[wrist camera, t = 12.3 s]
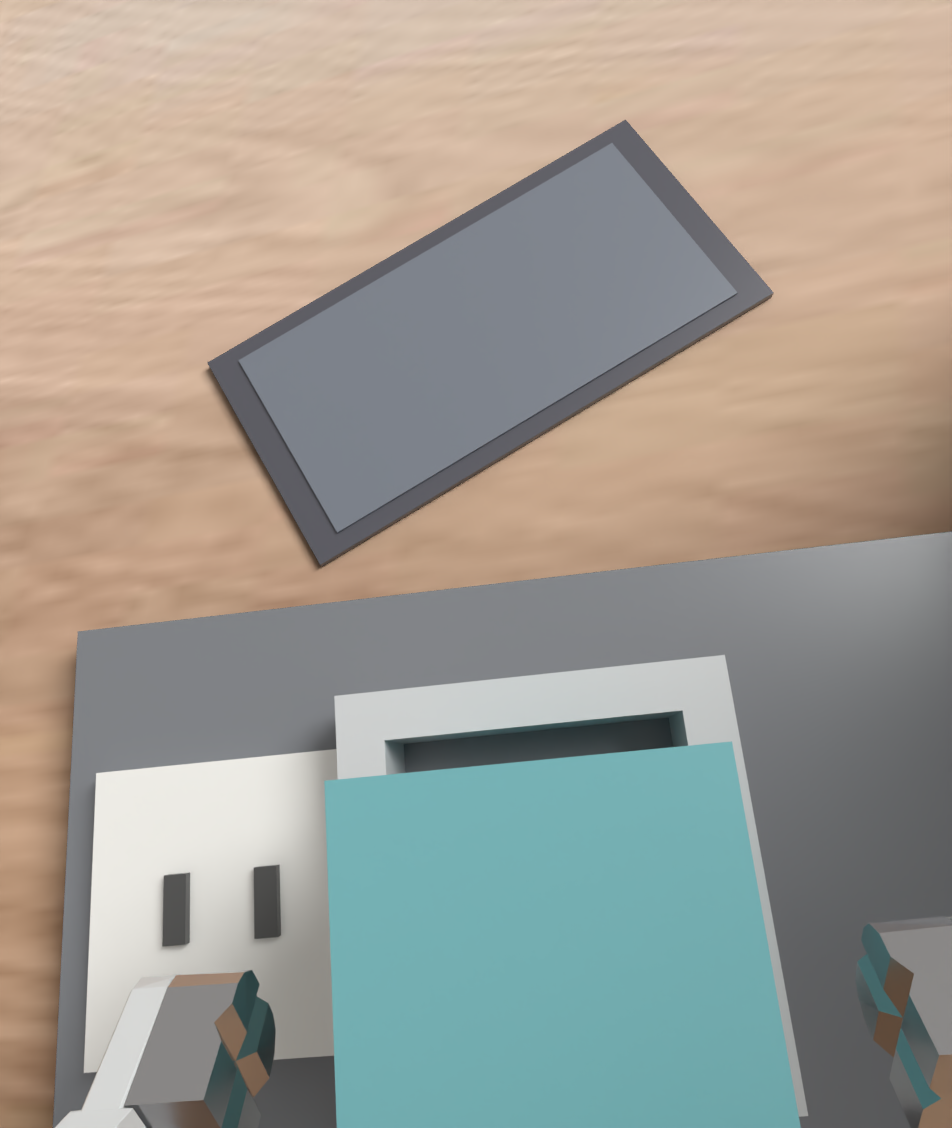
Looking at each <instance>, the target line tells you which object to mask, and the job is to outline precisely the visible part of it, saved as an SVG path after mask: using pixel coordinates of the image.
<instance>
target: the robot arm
mask: <svg viewBox="0 0 952 1128" xmlns="http://www.w3.org/2000/svg"><path fill="white" fill-rule="evenodd" d="M861 941H862V943H863V946H864V948H865V950H866V952H867V954H866V955H865V956H863V957H862V958H861V959H860V960H859V961H857V968H856V977H855V979H856V986H857V993H858V1000H859V1003H860V1006H861V1009H862V1013H863V1016H864V1019H865V1021H866V1024H867V1026H868V1029H869V1031H870V1034H871V1036H872V1038H873V1040H874V1041H875V1042H876V1043H877V1044H878V1045H880V1046H881V1047H882V1048H883V1049H884V1050H885V1051H886V1052H888V1053H889V1054H890V1055H891V1056H892V1057H893V1058H894V1059H893V1064H892V1068H891V1073H890V1077H889V1079H890V1081H891V1083H892V1085H893V1088H894V1090H895V1092H896V1095H897V1097H898V1099H899V1102H900V1104H901V1106H902V1109H903V1111H904V1113H905V1115H906V1118H907V1120H908V1122H909V1125H910V1127H911V1128H952V917H946V916H941V917H931V918H920V919H909V920H899V921H888V922H877V923H868V924H867V925H866V926H865V927H864V928H863V933H862V938H861ZM258 988H259V982H258V980H257V978H256V976H255V974H254V973H253V971H252V970H242V971H228V972H214V973H200V974H186V975H182V974H175V975H163V976H151V977H141V979H140V980H139V981H138V982H137V984H136V985H135V986H134V988H133V989H132V990H131V992H130V994H129V996H128V999H127V1001H126V1004H125V1006H124V1008H123V1011H122V1013H121V1016H120V1018H119V1020H118V1023H117V1025H116V1028H115V1030H114V1032H113V1035H112V1037H111V1040H110V1042H109V1044H108V1047H107V1049H106V1052H105V1054H104V1056H103V1059H102V1061H101V1064H100V1066H99V1068H98V1071H97V1073H96V1076H95V1078H94V1080H93V1083H92V1085H91V1088H90V1090H89V1092H88V1095H87V1097H86V1100H85V1102H84V1104H83V1107H82V1109H81V1110H77V1111H70V1112H69V1113H68V1114H67V1115H66V1116H65V1117H64V1118H63V1119H62V1120H61V1121H60V1123H59V1124H58V1125H57V1126H56V1127H55V1128H258V1126H259V1121H260V1117H261V1114H260V1112H259V1109H258V1106H257V1104H256V1101H255V1099H254V1096H255V1095H256V1094H257V1093H258V1091H259V1090H260V1089H261V1088H262V1087H263V1085H264V1084H265V1083H266V1082H267V1080H268V1079H269V1078H270V1073H271V1068H272V1064H273V1059H274V1054H275V1035H276V1028H275V1022H274V1016H273V1012H272V1010H271V1008H270V1006H269V1003H267V1002H266V1001H264V1000H262V999H261V998H259V997H257V992H258Z"/></svg>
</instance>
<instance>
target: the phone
mask: <svg viewBox="0 0 952 1128" xmlns="http://www.w3.org/2000/svg"><path fill="white" fill-rule="evenodd" d="M772 295H773V292H772V290H771V289H770V288H769V287H768V286H767V285H766V283H765V282H764V281H763V280H762V279H761V278H760V276H759V275H758V274H757V273H756V272H755V271H754V269H753V268H752V267H751V266H750V265H749V263H748V262H747V261H746V260H745V259H744V258H743V256H742V255H741V254H740V253H739V252H738V251H737V249H736V248H735V247H734V246H733V245H732V244H731V242H730V241H729V240H728V239H727V238H726V237H725V235H724V234H723V233H722V232H721V231H720V230H719V228H718V227H717V226H716V225H715V224H714V223H713V221H712V220H711V219H710V218H709V217H708V216H707V214H706V213H705V212H704V211H703V210H702V208H701V207H700V206H699V205H698V204H697V203H696V201H695V200H694V199H693V198H692V197H691V196H690V194H689V193H688V192H687V191H686V190H685V189H684V187H683V186H682V185H681V184H680V183H679V182H678V180H677V179H676V178H675V177H674V176H673V175H672V173H671V172H670V171H669V170H668V169H667V168H666V166H665V165H664V164H663V163H662V162H661V161H660V159H659V158H658V157H657V156H656V155H655V154H654V152H653V151H652V150H651V149H650V148H649V146H648V145H647V144H646V143H645V142H644V141H643V139H642V138H641V137H640V136H639V135H638V134H637V132H636V131H635V130H634V129H633V128H632V127H631V125H630V124H629V123H628V122H627V121H626V120H624V121H622V122H621V123H619V124H617V125H616V126H614V127H612V128H610V129H609V130H607V131H605V132H604V133H602V134H600V135H598V136H597V137H595V138H593V139H592V140H590V141H588V142H586V143H585V144H583V145H581V146H579V147H578V148H576V149H574V150H573V151H571V152H569V153H567V154H566V155H564V156H562V157H561V158H559V159H557V160H555V161H554V162H552V163H550V164H549V165H547V166H545V167H543V168H542V169H540V170H538V171H536V172H535V173H533V174H531V175H530V176H528V177H526V178H524V179H523V180H521V181H519V182H518V183H516V184H514V185H512V186H511V187H509V188H507V189H505V190H504V191H502V192H500V193H499V194H497V195H495V196H493V197H492V198H490V199H488V200H487V201H485V202H483V203H481V204H480V205H478V206H476V207H475V208H473V209H471V210H469V211H468V212H466V213H464V214H462V215H461V216H459V217H457V218H456V219H454V220H452V221H450V222H449V223H447V224H445V225H444V226H442V227H440V228H438V229H437V230H435V231H433V232H432V233H430V234H428V235H426V236H425V237H423V238H421V239H419V240H418V241H416V242H414V243H413V244H411V245H409V246H407V247H406V248H404V249H402V250H401V251H399V252H397V253H395V254H394V255H392V256H390V257H389V258H387V259H385V260H383V261H382V262H380V263H378V264H376V265H375V266H373V267H371V268H370V269H368V270H366V271H364V272H363V273H361V274H359V275H358V276H356V277H354V278H352V279H351V280H349V281H347V282H346V283H344V284H342V285H340V286H339V287H337V288H335V289H333V290H332V291H330V292H328V293H327V294H325V295H323V296H321V297H320V298H318V299H316V300H315V301H313V302H311V303H309V304H308V305H306V306H304V307H302V308H301V309H299V310H297V311H296V312H294V313H292V314H290V315H289V316H287V317H285V318H284V319H282V320H280V321H278V322H277V323H275V324H273V325H272V326H270V327H268V328H266V329H265V330H263V331H261V332H259V333H258V334H256V335H254V336H253V337H251V338H249V339H247V340H246V341H244V342H242V343H241V344H239V345H237V346H235V347H234V348H232V349H230V350H229V351H227V352H225V353H223V354H222V355H220V356H218V357H216V358H215V359H213V360H211V361H210V362H208V365H209V367H210V368H211V370H212V372H213V374H214V376H215V377H216V379H217V381H218V383H219V385H220V386H221V388H222V390H223V392H224V393H225V395H226V397H227V399H228V401H229V402H230V404H231V406H232V408H233V410H234V411H235V413H236V415H237V417H238V419H239V420H240V422H241V424H242V426H243V428H244V429H245V431H246V433H247V435H248V436H249V438H250V440H251V442H252V444H253V445H254V447H255V449H256V451H257V453H258V454H259V456H260V458H261V460H262V462H263V463H264V465H265V467H266V469H267V471H268V472H269V474H270V476H271V478H272V480H273V481H274V483H275V485H276V487H277V488H278V490H279V492H280V494H281V496H282V497H283V499H284V501H285V503H286V505H287V506H288V508H289V510H290V512H291V514H292V515H293V517H294V519H295V521H296V523H297V524H298V526H299V528H300V530H301V531H302V533H303V535H304V537H305V539H306V540H307V542H308V544H309V546H310V548H311V549H312V551H313V553H314V555H315V557H316V558H317V560H318V562H319V564H320V565H321V566H322V567H323V566H325V565H326V564H328V563H330V562H331V561H333V560H335V559H336V558H338V557H340V556H341V555H343V554H345V553H346V552H348V551H350V550H351V549H353V548H355V547H356V546H358V545H360V544H361V543H363V542H365V541H366V540H368V539H370V538H371V537H373V536H375V535H376V534H378V533H380V532H381V531H383V530H385V529H386V528H388V527H390V526H391V525H393V524H395V523H396V522H398V521H400V520H401V519H403V518H405V517H406V516H408V515H410V514H411V513H413V512H415V511H416V510H418V509H420V508H421V507H423V506H425V505H426V504H428V503H430V502H431V501H433V500H435V499H436V498H438V497H440V496H441V495H443V494H445V493H446V492H448V491H450V490H451V489H453V488H455V487H456V486H458V485H460V484H461V483H463V482H465V481H466V480H468V479H470V478H471V477H473V476H475V475H476V474H478V473H480V472H481V471H483V470H485V469H486V468H488V467H490V466H491V465H493V464H495V463H496V462H498V461H500V460H501V459H503V458H505V457H506V456H508V455H510V454H511V453H513V452H515V451H516V450H518V449H520V448H521V447H523V446H525V445H526V444H528V443H530V442H531V441H533V440H535V439H536V438H538V437H540V436H541V435H543V434H545V433H546V432H548V431H550V430H551V429H553V428H555V427H556V426H558V425H560V424H561V423H563V422H565V421H566V420H568V419H570V418H571V417H573V416H575V415H576V414H578V413H580V412H581V411H583V410H585V409H586V408H588V407H590V406H591V405H593V404H595V403H596V402H598V401H600V400H601V399H603V398H605V397H606V396H608V395H610V394H611V393H613V392H615V391H616V390H618V389H620V388H621V387H623V386H625V385H626V384H628V383H630V382H631V381H633V380H635V379H636V378H638V377H640V376H641V375H643V374H645V373H646V372H648V371H650V370H651V369H653V368H655V367H656V366H658V365H660V364H661V363H663V362H665V361H666V360H668V359H670V358H671V357H673V356H675V355H676V354H678V353H680V352H681V351H683V350H685V349H686V348H688V347H690V346H691V345H693V344H695V343H696V342H698V341H700V340H701V339H703V338H705V337H706V336H708V335H710V334H711V333H713V332H715V331H716V330H718V329H720V328H721V327H723V326H725V325H726V324H728V323H730V322H731V321H733V320H735V319H736V318H738V317H740V316H741V315H743V314H745V313H746V312H748V311H750V310H751V309H753V308H755V307H756V306H758V305H760V304H761V303H763V302H765V301H766V300H768V299H770V298H771V297H772Z"/></svg>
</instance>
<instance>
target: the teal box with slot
mask: <svg viewBox="0 0 952 1128" xmlns="http://www.w3.org/2000/svg"><path fill="white" fill-rule="evenodd" d="M324 787H325V815H326V842H327V870H328V898H329V925H330V953H331V980H332V1008H333V1036H334V1063H335V1091H336V1119H337V1128H801V1126H800V1121H799V1115H798V1109H797V1104H796V1098H795V1093H794V1087H793V1081H792V1076H791V1070H790V1064H789V1059H788V1053H787V1048H786V1042H785V1036H784V1031H783V1025H782V1020H781V1014H780V1008H779V1003H778V997H777V991H776V986H775V980H774V975H773V969H772V963H771V958H770V952H769V947H768V941H767V935H766V930H765V924H764V918H763V913H762V907H761V902H760V896H759V890H758V885H757V879H756V874H755V868H754V862H753V857H752V851H751V845H750V840H749V834H748V829H747V823H746V817H745V812H744V806H743V801H742V795H741V789H740V784H739V778H738V772H737V767H736V761H735V756H734V750H733V744H732V741H731V742H721V743H711V744H700V745H690V746H680V747H669V748H659V749H648V750H638V751H628V752H617V753H607V754H597V755H586V756H576V757H566V758H555V759H545V760H535V761H524V762H514V763H504V764H493V765H483V766H473V767H462V768H452V769H441V770H431V771H421V772H410V773H400V774H390V775H379V776H369V777H359V778H348V779H338V780H328V781H324Z"/></svg>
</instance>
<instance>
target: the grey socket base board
mask: <svg viewBox="0 0 952 1128" xmlns="http://www.w3.org/2000/svg"><path fill="white" fill-rule="evenodd" d="M731 741H732V744H733V750H734V756H735V761H736V767H737V772H738V778H739V784H740V789H741V795H742V801H743V806H744V812H745V817H746V823H747V829H748V834H749V840H750V845H751V851H752V857H753V862H754V868H755V874H756V879H757V885H758V890H759V896H760V902H761V907H762V913H763V918H764V924H765V930H766V935H767V941H768V947H769V952H770V958H771V963H772V969H773V975H774V980H775V986H776V991H777V997H778V1003H779V1008H780V1014H781V1020H782V1025H783V1031H784V1036H785V1042H786V1048H787V1053H788V1059H789V1064H790V1070H791V1076H792V1081H793V1087H794V1093H795V1098H796V1104H797V1109H798V1115H799V1121H800V1126H801V1128H911V1127H910V1125H909V1122H908V1120H907V1118H906V1115H905V1113H904V1111H903V1109H902V1106H901V1104H900V1102H899V1099H898V1097H897V1095H896V1092H895V1090H894V1088H893V1085H892V1083H891V1081H890V1079H889V1077H890V1073H891V1068H892V1064H893V1059H894V1058H893V1057H892V1056H891V1055H890V1054H889V1053H888V1052H886V1051H885V1050H884V1049H883V1048H882V1047H881V1046H880V1045H878V1044H877V1043H876V1042H875V1041H874V1040H873V1038H872V1036H871V1034H870V1031H869V1029H868V1026H867V1024H866V1021H865V1019H864V1016H863V1013H862V1009H861V1006H860V1003H859V1000H858V993H857V986H856V979H855V977H856V968H857V961H859V960H860V959H861V958H862V957H863V956H865V955H866V954H867V952H866V950H865V948H864V946H863V943H862V941H861V938H862V933H863V928H864V927H865V926H866V925H867V924H868V923H877V922H888V921H899V920H909V919H920V918H931V917H941V916H946V917H952V531H951V532H943V533H934V534H925V535H916V536H908V537H899V538H890V539H881V540H873V541H864V542H855V543H847V544H838V545H829V546H820V547H812V548H803V549H794V550H786V551H777V552H768V553H759V554H751V555H742V556H733V557H725V558H716V559H707V560H698V561H690V562H681V563H672V564H663V565H655V566H646V567H637V568H629V569H620V570H611V571H602V572H594V573H585V574H576V575H568V576H559V577H550V578H541V579H533V580H524V581H515V582H506V583H498V584H489V585H480V586H472V587H463V588H454V589H445V590H437V591H428V592H419V593H411V594H402V595H393V596H384V597H376V598H367V599H358V600H350V601H341V602H332V603H323V604H315V605H306V606H297V607H288V608H280V609H271V610H262V611H254V612H245V613H236V614H227V615H219V616H210V617H201V618H193V619H184V620H175V621H166V622H158V623H149V624H140V625H131V626H123V627H114V628H105V629H97V630H88V631H79V632H78V640H77V659H76V679H75V699H74V719H73V739H72V759H71V778H70V798H69V818H68V838H67V858H66V877H65V897H64V917H63V937H62V957H61V976H60V996H59V1016H58V1036H57V1056H56V1075H55V1095H54V1115H53V1128H55V1127H56V1126H57V1125H58V1124H59V1123H60V1121H61V1120H62V1119H63V1118H64V1117H65V1116H66V1115H67V1114H68V1113H69V1112H70V1111H77V1110H81V1109H82V1107H83V1104H84V1102H85V1100H86V1097H87V1095H88V1092H89V1090H90V1088H91V1085H92V1083H93V1080H94V1078H95V1076H96V1073H97V1071H98V1068H99V1066H100V1064H101V1061H102V1059H103V1056H104V1054H105V1052H106V1049H107V1047H108V1044H109V1042H110V1040H111V1037H112V1035H113V1032H114V1030H115V1028H116V1025H117V1023H118V1020H119V1018H120V1016H121V1013H122V1011H123V1008H124V1006H125V1004H126V1001H127V999H128V996H129V994H130V992H131V990H132V989H133V988H134V986H135V985H136V984H137V982H138V981H139V980H140V979H141V977H151V976H163V975H175V974H182V975H186V974H200V973H214V972H228V971H242V970H252V971H253V973H254V974H255V976H256V978H257V980H258V982H259V988H258V992H257V997H259V998H261V999H262V1000H264V1001H266V1002H267V1003H269V1006H270V1008H271V1010H272V1012H273V1016H274V1022H275V1028H276V1035H275V1054H274V1059H273V1064H272V1068H271V1073H270V1078H269V1079H268V1080H267V1082H266V1083H265V1084H264V1085H263V1087H262V1088H261V1089H260V1090H259V1091H258V1093H257V1094H256V1095H255V1096H254V1099H255V1101H256V1104H257V1106H258V1109H259V1112H260V1114H261V1117H260V1121H259V1126H258V1128H337V1119H336V1091H335V1063H334V1036H333V1008H332V980H331V953H330V925H329V898H328V870H327V842H326V815H325V787H324V781H328V780H338V779H348V778H359V777H369V776H379V775H390V774H400V773H410V772H421V771H431V770H441V769H452V768H462V767H473V766H483V765H493V764H504V763H514V762H524V761H535V760H545V759H555V758H566V757H576V756H586V755H597V754H607V753H617V752H628V751H638V750H648V749H659V748H669V747H680V746H690V745H700V744H711V743H721V742H731Z"/></svg>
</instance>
